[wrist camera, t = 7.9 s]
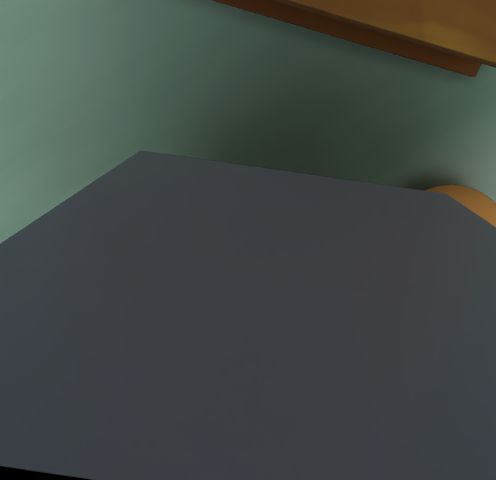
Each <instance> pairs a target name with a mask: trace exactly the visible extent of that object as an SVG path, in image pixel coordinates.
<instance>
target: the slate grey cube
mask: <svg viewBox="0 0 496 480" xmlns="http://www.w3.org/2000/svg"><path fill="white" fill-rule="evenodd" d="M0 480H496V227H495V226H494V225H492V224H491V223H489V222H488V221H486V220H485V219H483V218H482V217H480V216H479V215H477V214H476V213H474V212H473V211H471V210H470V209H468V208H467V207H465V206H464V205H462V204H461V203H459V202H458V201H456V200H455V199H453V198H452V197H451V196H449V195H448V194H445V193H438V192H431V191H423V190H416V189H409V188H402V187H395V186H388V185H381V184H374V183H367V182H360V181H353V180H346V179H339V178H331V177H324V176H317V175H310V174H303V173H296V172H289V171H282V170H275V169H268V168H261V167H254V166H246V165H239V164H232V163H225V162H218V161H211V160H204V159H197V158H190V157H183V156H176V155H169V154H161V153H154V152H147V151H139V152H138V153H136V154H135V155H133V156H132V157H130V158H129V159H127V160H126V161H124V162H123V163H121V164H120V165H118V166H117V167H115V168H114V169H112V170H111V171H109V172H108V173H106V174H105V175H103V176H102V177H100V178H99V179H97V180H96V181H94V182H93V183H91V184H89V185H88V186H86V187H85V188H83V189H82V190H80V191H79V192H77V193H76V194H74V195H73V196H71V197H70V198H68V199H67V200H65V201H64V202H62V203H61V204H59V205H58V206H56V207H55V208H53V209H52V210H50V211H49V212H47V213H46V214H44V215H43V216H41V217H40V218H38V219H37V220H35V221H34V222H32V223H31V224H29V225H28V226H26V227H25V228H23V229H22V230H20V231H19V232H17V233H16V234H14V235H13V236H11V237H10V238H8V239H7V240H5V241H4V242H2V243H1V244H0Z"/></svg>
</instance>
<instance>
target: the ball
mask: <svg viewBox="0 0 496 480" xmlns="http://www.w3.org/2000/svg"><path fill="white" fill-rule="evenodd" d="M425 191H431V192H438V193H445V194H448V195H449V196H451V197H452V198H453V199H455V200H456V201H458V202H459V203H461V204H462V205H464V206H465V207H467V208H468V209H470V210H471V211H473V212H474V213H476V214H477V215H479V216H480V217H482V218H483V219H485V220H486V221H488V222H489V223H491V224H492V225H494V226H495V227H496V204H495V202H493V201H492V200H491V199H490V198H489V197H487V196H486V195H485V194H483V193H482V192H479V191H477V190H475V189H472V188H469V187H466V186H459V185H442V186H437V187H433V188H430V189H427V190H425Z"/></svg>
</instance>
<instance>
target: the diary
mask: <svg viewBox="0 0 496 480" xmlns="http://www.w3.org/2000/svg"><path fill="white" fill-rule="evenodd" d="M213 1H216V2H220V3H223V4H226V5H230V6H233V7H237V8H240V9H243V10H247V11H250V12H254V13H257V14H260V15H264V16H267V17H270V18H274V19H277V20H281V21H284V22H287V23H291V24H294V25H298V26H301V27H304V28H308V29H311V30H315V31H318V32H321V33H325V34H328V35H332V36H335V37H338V38H342V39H345V40H348V41H352V42H355V43H359V44H362V45H365V46H369V47H372V48H376V49H379V50H382V51H386V52H389V53H393V54H396V55H399V56H403V57H406V58H410V59H413V60H416V61H420V62H423V63H426V64H430V65H433V66H437V67H440V68H443V69H447V70H450V71H454V72H457V73H460V74H464V75H467V76H471V77H475V76H476V74H477V72H478V70H479V68H480V66H481V64H485V65H489V66H492V67H495V68H496V0H213Z"/></svg>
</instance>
